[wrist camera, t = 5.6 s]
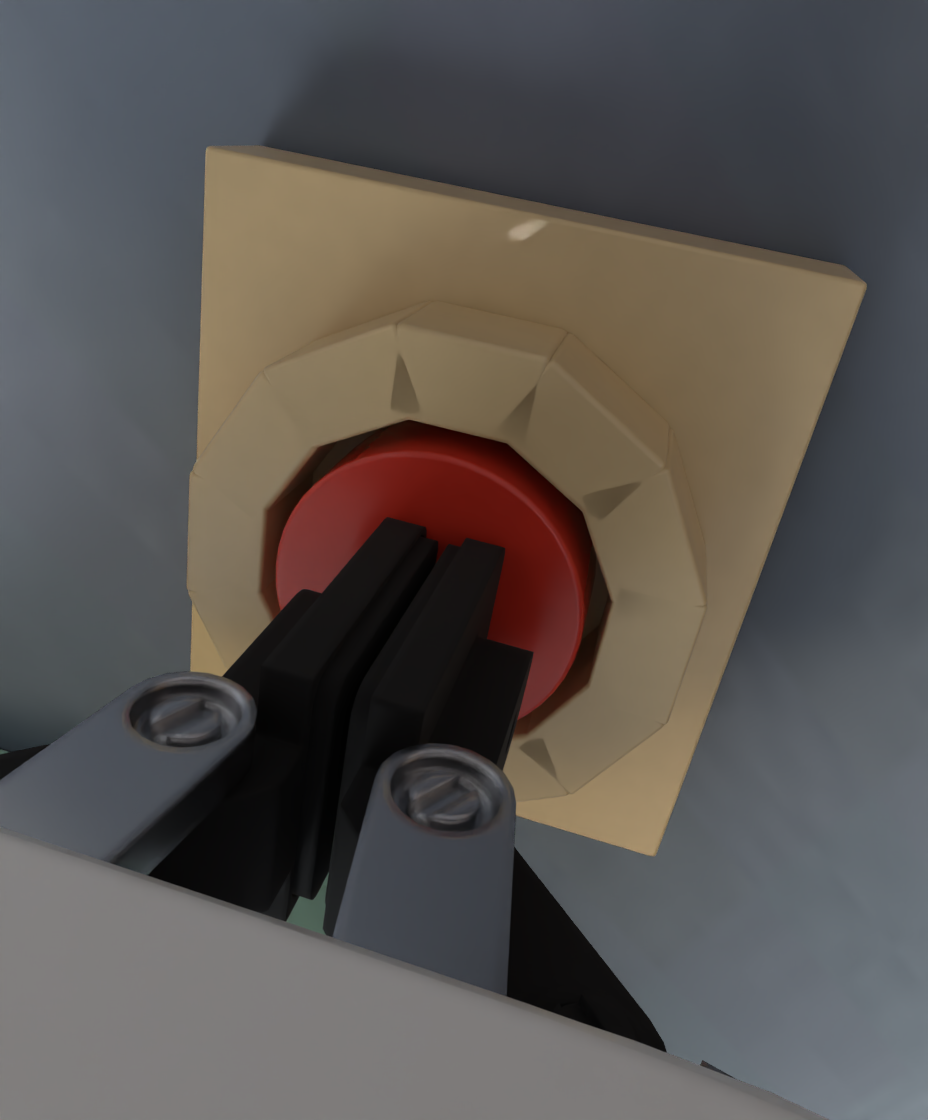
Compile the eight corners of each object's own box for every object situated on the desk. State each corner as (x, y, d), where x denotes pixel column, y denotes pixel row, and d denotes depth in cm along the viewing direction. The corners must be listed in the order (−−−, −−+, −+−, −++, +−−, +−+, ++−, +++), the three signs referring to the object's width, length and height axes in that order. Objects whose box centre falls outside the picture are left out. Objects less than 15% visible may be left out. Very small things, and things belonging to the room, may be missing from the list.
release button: (333, 383, 13) (284, 416, 11) (629, 454, 12) (620, 499, 11) (307, 634, 15) (263, 691, 13) (561, 705, 14) (545, 773, 13)
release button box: (257, 144, 14) (129, 145, 11) (849, 265, 12) (899, 307, 9) (228, 671, 18) (133, 779, 15) (658, 796, 17) (650, 941, 14)
